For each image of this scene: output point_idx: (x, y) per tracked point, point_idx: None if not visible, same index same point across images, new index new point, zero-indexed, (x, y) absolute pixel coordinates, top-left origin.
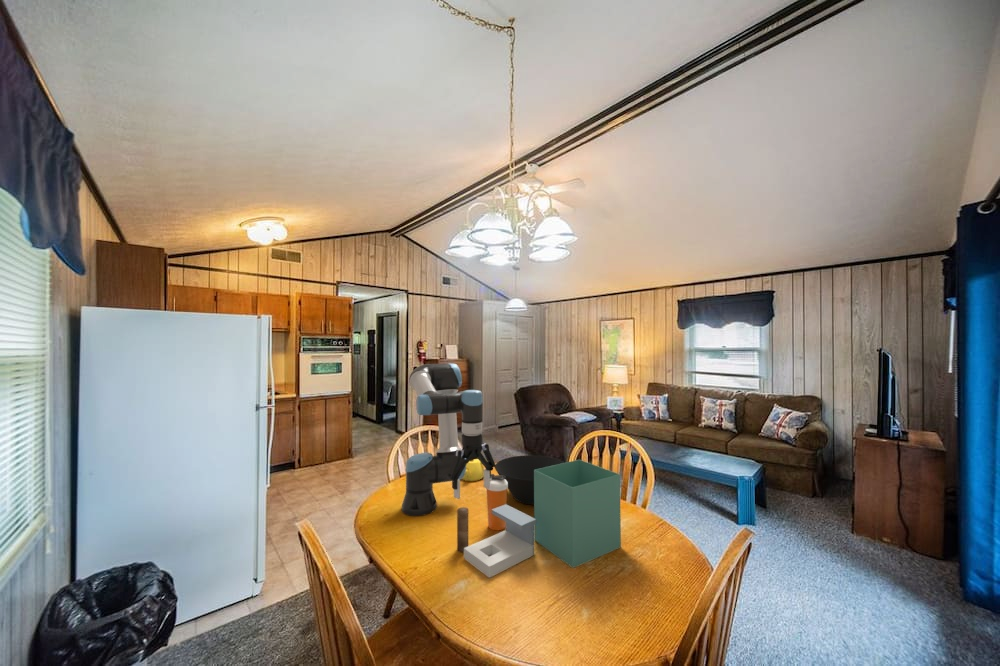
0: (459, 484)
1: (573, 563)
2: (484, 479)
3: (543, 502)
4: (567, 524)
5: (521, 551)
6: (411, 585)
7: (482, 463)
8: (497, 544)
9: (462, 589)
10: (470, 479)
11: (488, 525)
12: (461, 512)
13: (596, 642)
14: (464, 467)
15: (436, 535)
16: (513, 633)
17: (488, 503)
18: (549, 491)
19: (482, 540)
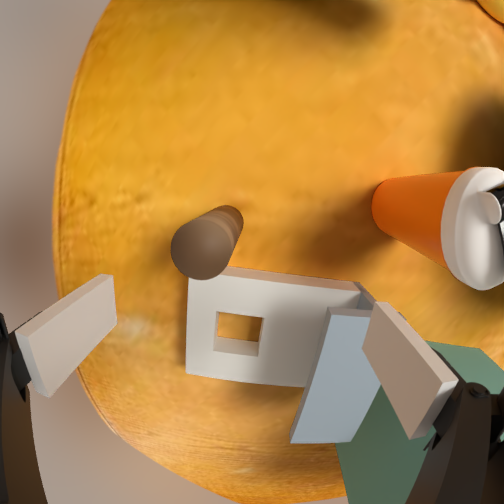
0: (64, 374)
1: None
2: (394, 340)
3: (413, 442)
4: (353, 482)
5: (292, 385)
6: (64, 250)
7: (439, 465)
8: (276, 330)
9: (128, 339)
10: (480, 1)
11: (377, 189)
12: (177, 266)
13: (212, 482)
14: (42, 492)
15: (223, 97)
16: (144, 433)
17: (409, 202)
18: (409, 492)
19: (262, 282)
